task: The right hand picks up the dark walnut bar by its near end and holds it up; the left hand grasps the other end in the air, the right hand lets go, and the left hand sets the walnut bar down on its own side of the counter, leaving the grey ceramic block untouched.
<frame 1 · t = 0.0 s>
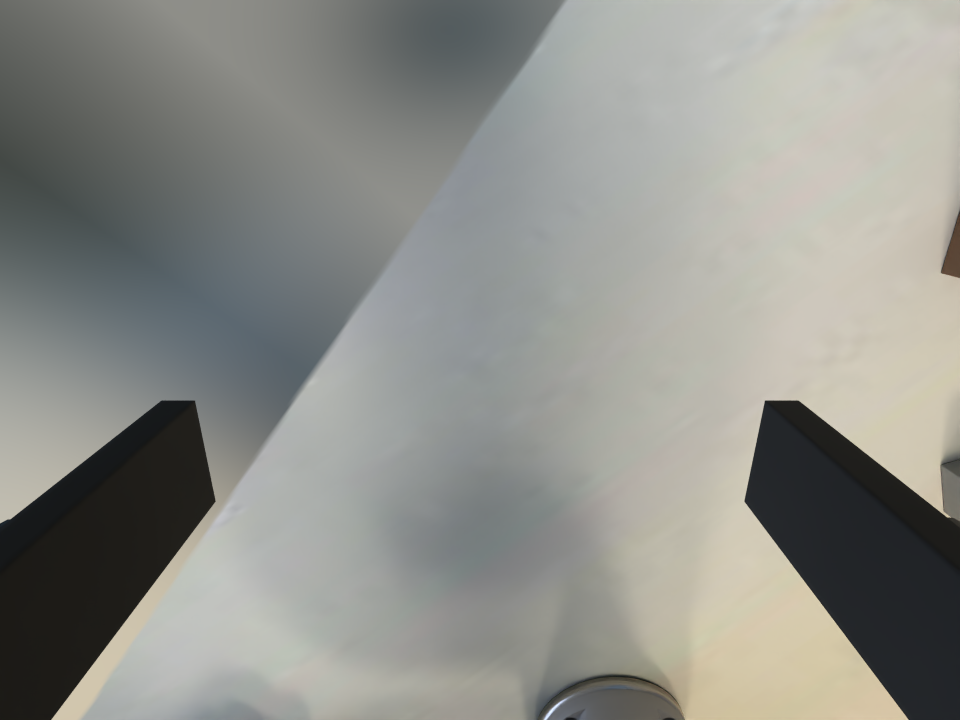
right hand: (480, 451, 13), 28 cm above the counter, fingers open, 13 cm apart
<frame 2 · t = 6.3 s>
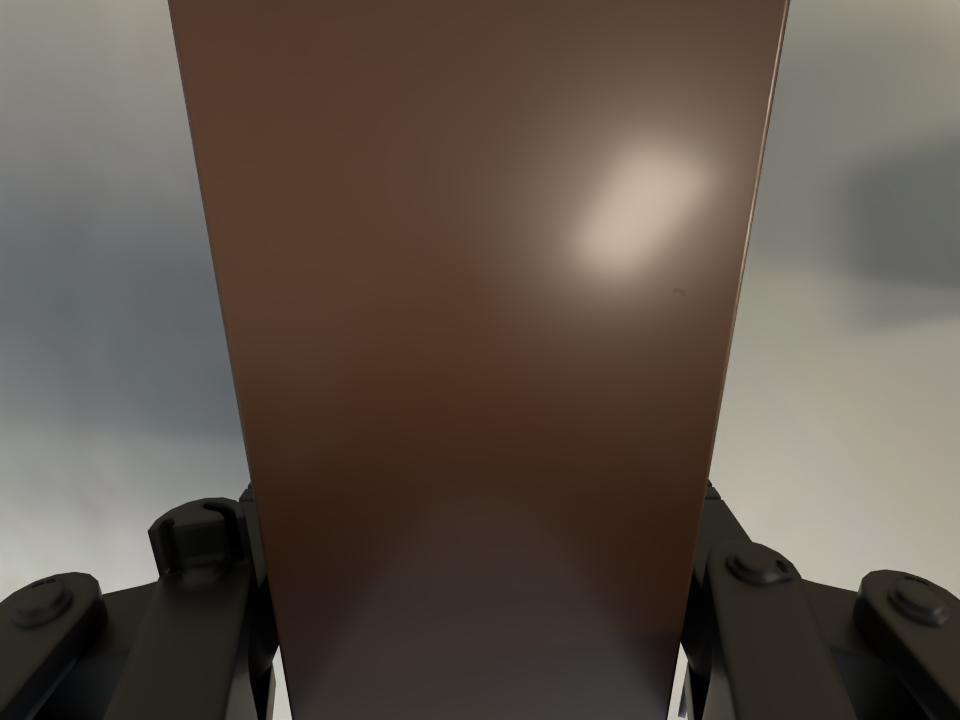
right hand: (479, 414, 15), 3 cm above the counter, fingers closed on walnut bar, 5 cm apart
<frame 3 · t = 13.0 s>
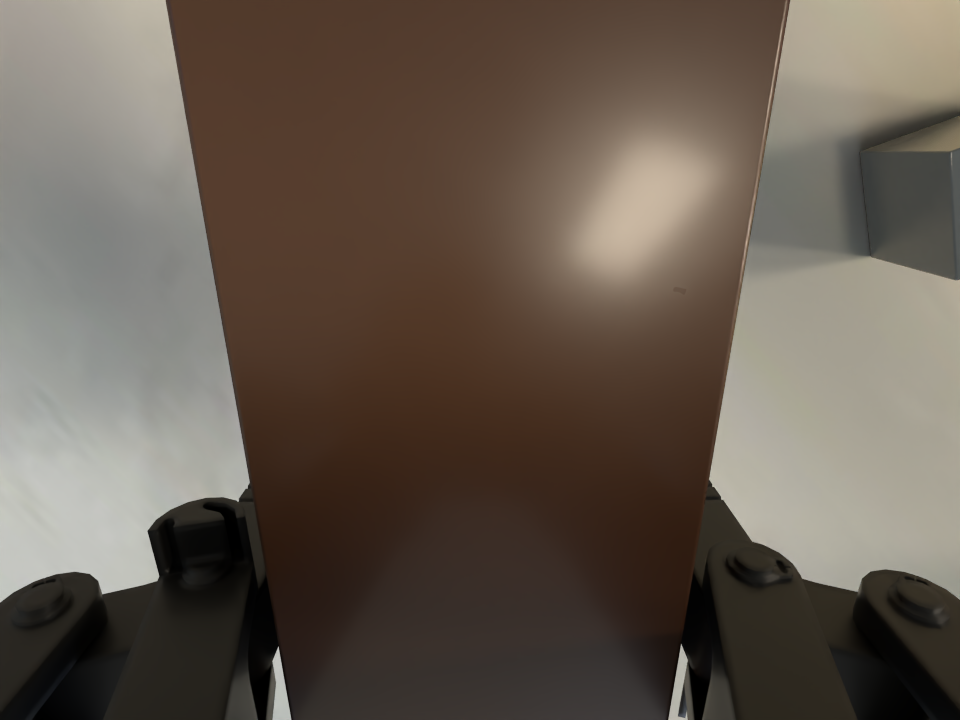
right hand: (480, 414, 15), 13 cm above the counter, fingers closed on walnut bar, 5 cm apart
grey block: (921, 186, 25), on the counter
when the right hand's fingers open (13 cm above the counter, at t = 13.7 s): walnut bar stays where it is, held by the left hand.
when the left hand's fingers open (1 cm above the counter, at t = 24.9 s): walnut bar stays where it is, on the counter.
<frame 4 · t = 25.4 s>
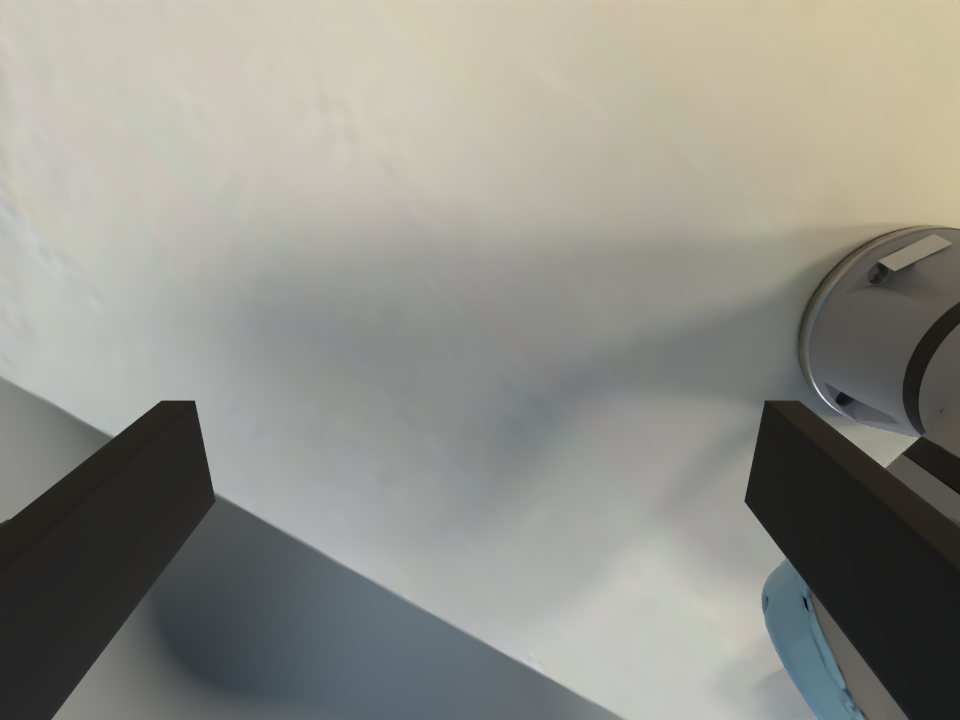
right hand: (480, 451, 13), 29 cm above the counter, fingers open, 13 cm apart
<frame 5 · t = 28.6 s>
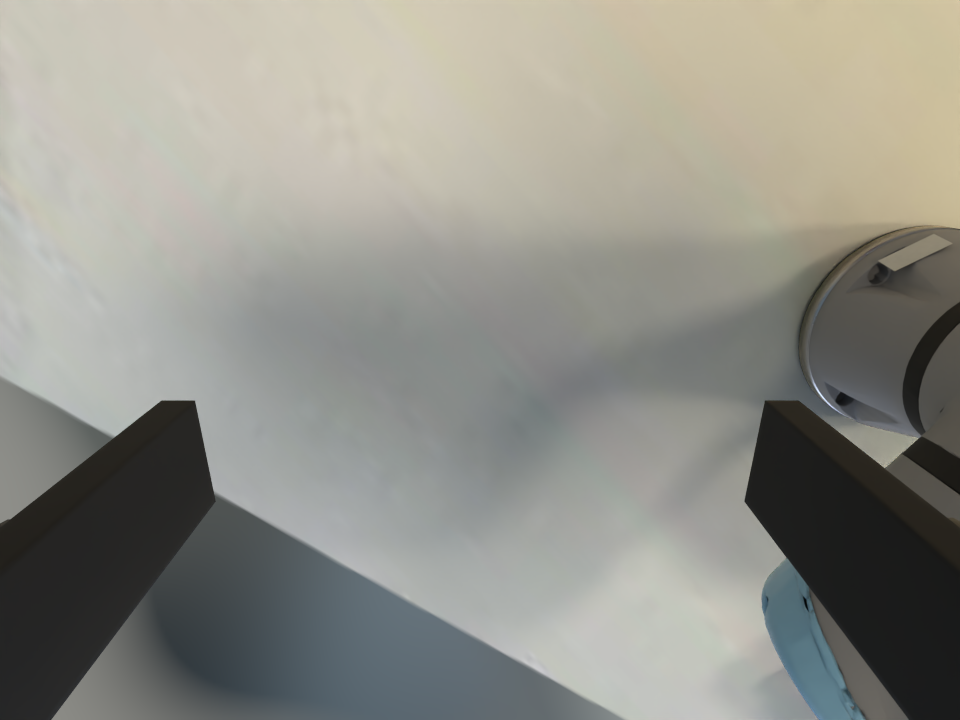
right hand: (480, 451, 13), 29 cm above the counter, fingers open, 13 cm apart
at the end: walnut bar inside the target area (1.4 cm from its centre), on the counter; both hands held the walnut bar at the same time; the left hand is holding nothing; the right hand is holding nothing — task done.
